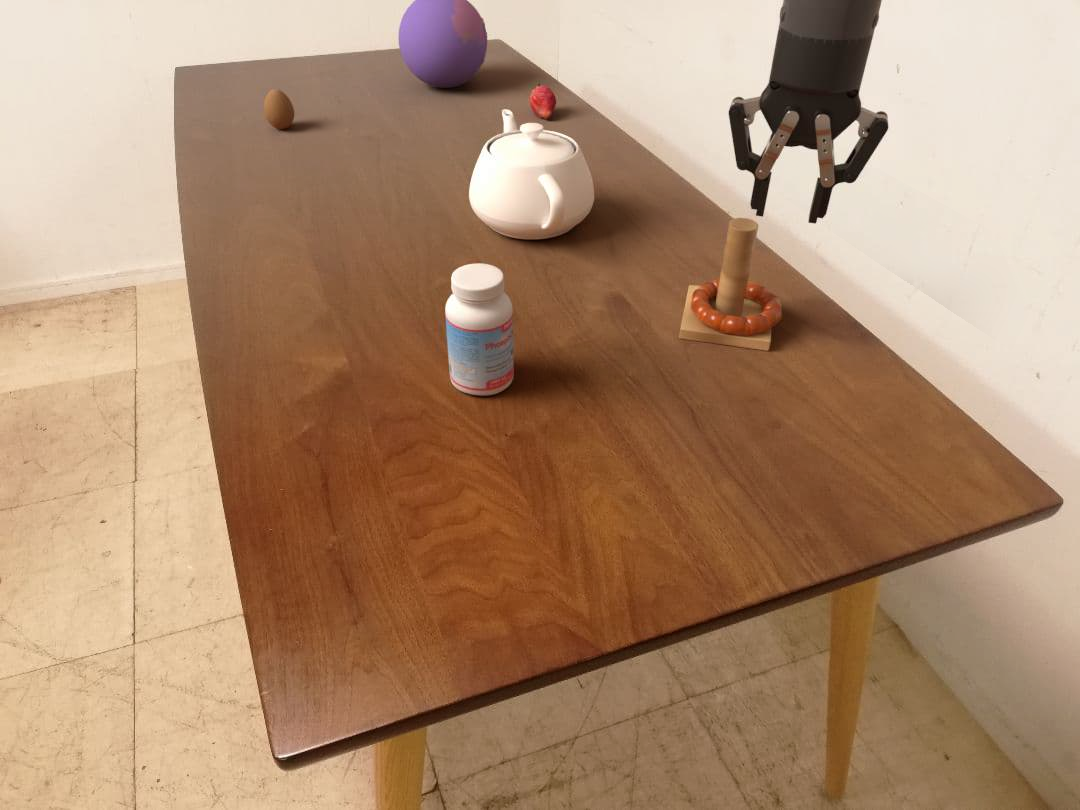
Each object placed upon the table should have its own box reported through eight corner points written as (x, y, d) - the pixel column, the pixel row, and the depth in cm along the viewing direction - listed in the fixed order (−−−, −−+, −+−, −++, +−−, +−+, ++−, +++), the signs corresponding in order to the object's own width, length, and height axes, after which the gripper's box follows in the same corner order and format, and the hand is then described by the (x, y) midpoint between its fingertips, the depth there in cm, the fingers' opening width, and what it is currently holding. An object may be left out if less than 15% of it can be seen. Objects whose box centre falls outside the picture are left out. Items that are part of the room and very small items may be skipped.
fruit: (534, 123, 130) (534, 91, 127) (526, 110, 135) (526, 79, 132) (560, 121, 131) (560, 89, 128) (551, 108, 136) (551, 77, 133)
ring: (779, 295, 88) (782, 281, 87) (780, 343, 81) (784, 328, 80) (693, 285, 90) (695, 271, 88) (687, 331, 83) (689, 316, 81)
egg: (294, 133, 126) (287, 94, 122) (265, 134, 126) (257, 94, 122) (299, 123, 130) (292, 84, 126) (270, 123, 129) (262, 84, 126)
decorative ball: (495, 97, 140) (493, 1, 130) (407, 102, 137) (397, 5, 128) (481, 69, 151) (478, -20, 142) (399, 74, 149) (390, -17, 139)
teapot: (620, 256, 97) (628, 156, 89) (492, 273, 94) (489, 171, 86) (559, 172, 116) (561, 84, 108) (451, 184, 112) (445, 93, 105)
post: (770, 304, 89) (791, 209, 82) (768, 351, 82) (791, 251, 75) (687, 293, 91) (701, 199, 83) (678, 338, 84) (692, 239, 77)
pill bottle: (500, 404, 75) (497, 299, 68) (439, 390, 77) (430, 286, 70) (523, 367, 80) (522, 265, 73) (465, 355, 81) (458, 254, 74)
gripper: (917, 18, 68) (864, 209, 79) (743, 5, 71) (715, 190, 82) (922, 43, 62) (864, 245, 73) (733, 27, 66) (704, 223, 76)
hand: (785, 215), depth 78 cm, fingers open, 4 cm apart
